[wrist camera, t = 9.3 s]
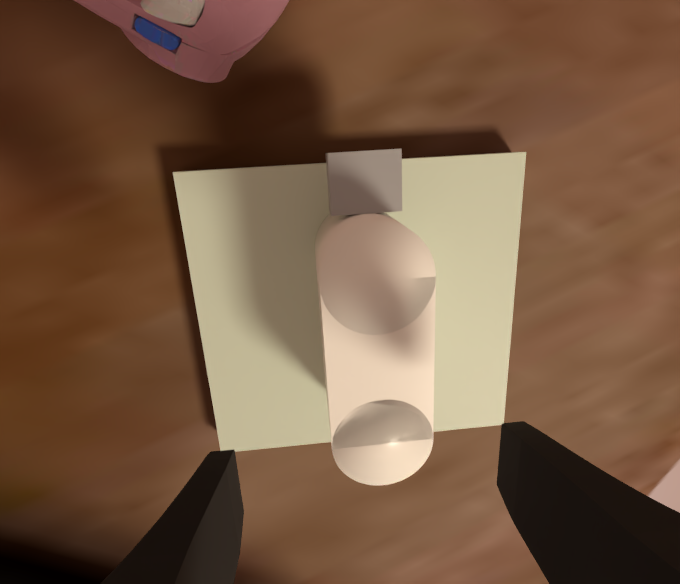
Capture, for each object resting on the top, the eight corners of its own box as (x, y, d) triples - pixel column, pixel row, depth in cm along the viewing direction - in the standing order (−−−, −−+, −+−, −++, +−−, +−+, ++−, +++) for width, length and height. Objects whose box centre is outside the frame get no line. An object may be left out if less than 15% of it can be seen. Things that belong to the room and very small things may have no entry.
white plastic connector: (402, 403, 20) (432, 479, 15) (327, 410, 20) (335, 490, 15) (399, 148, 17) (438, 146, 12) (307, 154, 16) (309, 154, 12)
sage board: (493, 410, 22) (503, 424, 21) (225, 437, 21) (221, 452, 20) (512, 151, 18) (526, 151, 17) (181, 171, 17) (172, 172, 16)
